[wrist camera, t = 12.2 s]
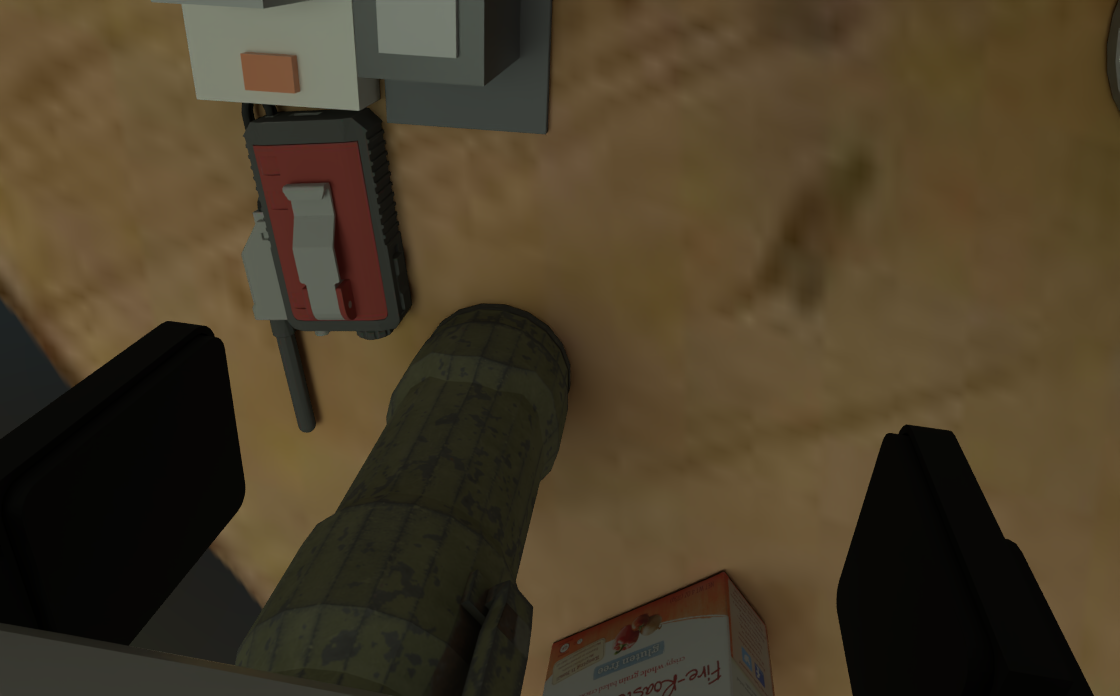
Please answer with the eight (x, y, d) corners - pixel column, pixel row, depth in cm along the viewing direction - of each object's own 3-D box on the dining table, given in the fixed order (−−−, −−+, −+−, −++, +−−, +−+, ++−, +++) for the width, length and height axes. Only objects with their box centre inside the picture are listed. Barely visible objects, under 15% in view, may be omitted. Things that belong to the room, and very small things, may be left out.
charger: (522, -61, 35) (482, -60, 28) (519, 58, 38) (482, 87, 30) (411, -67, 36) (345, -68, 29) (416, 51, 38) (355, 78, 31)
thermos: (373, 364, 47) (-191, 1169, 16) (529, 259, 43) (163, 1081, 12) (467, 469, 50) (134, 1332, 19) (623, 380, 46) (519, 1307, 15)
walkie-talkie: (219, 90, 41) (300, 419, 50) (171, 105, 37) (269, 459, 46) (382, 81, 40) (435, 421, 49) (351, 97, 36) (415, 462, 45)
